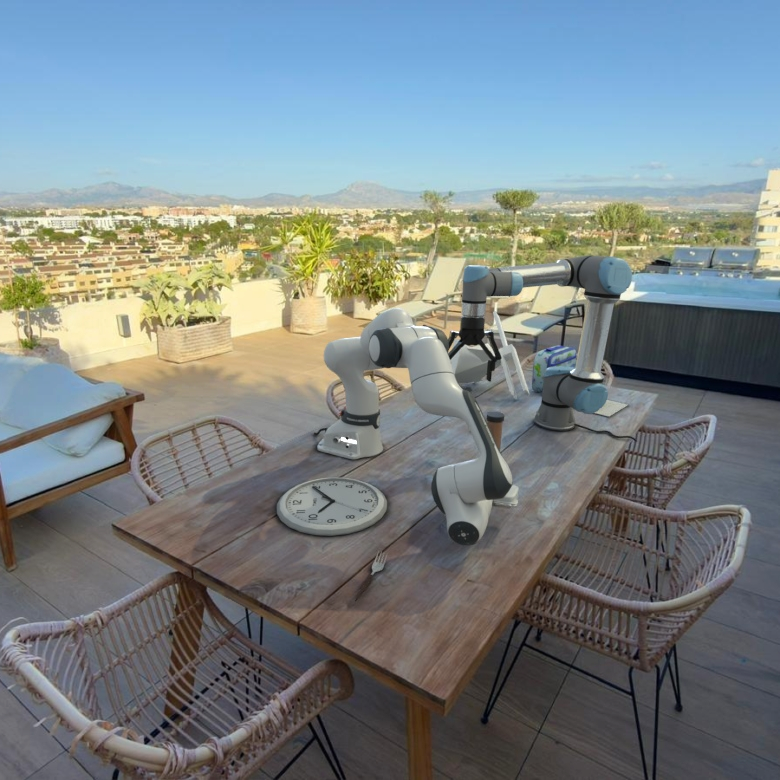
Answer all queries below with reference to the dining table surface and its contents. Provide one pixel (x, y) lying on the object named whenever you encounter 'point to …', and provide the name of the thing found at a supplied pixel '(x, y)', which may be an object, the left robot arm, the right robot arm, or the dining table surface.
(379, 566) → the fork
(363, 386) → the left robot arm
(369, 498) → the wall clock
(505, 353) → the white plastic object
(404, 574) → the dining table surface
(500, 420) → the lid
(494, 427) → the bottle
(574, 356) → the lunch box
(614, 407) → the invitation card
